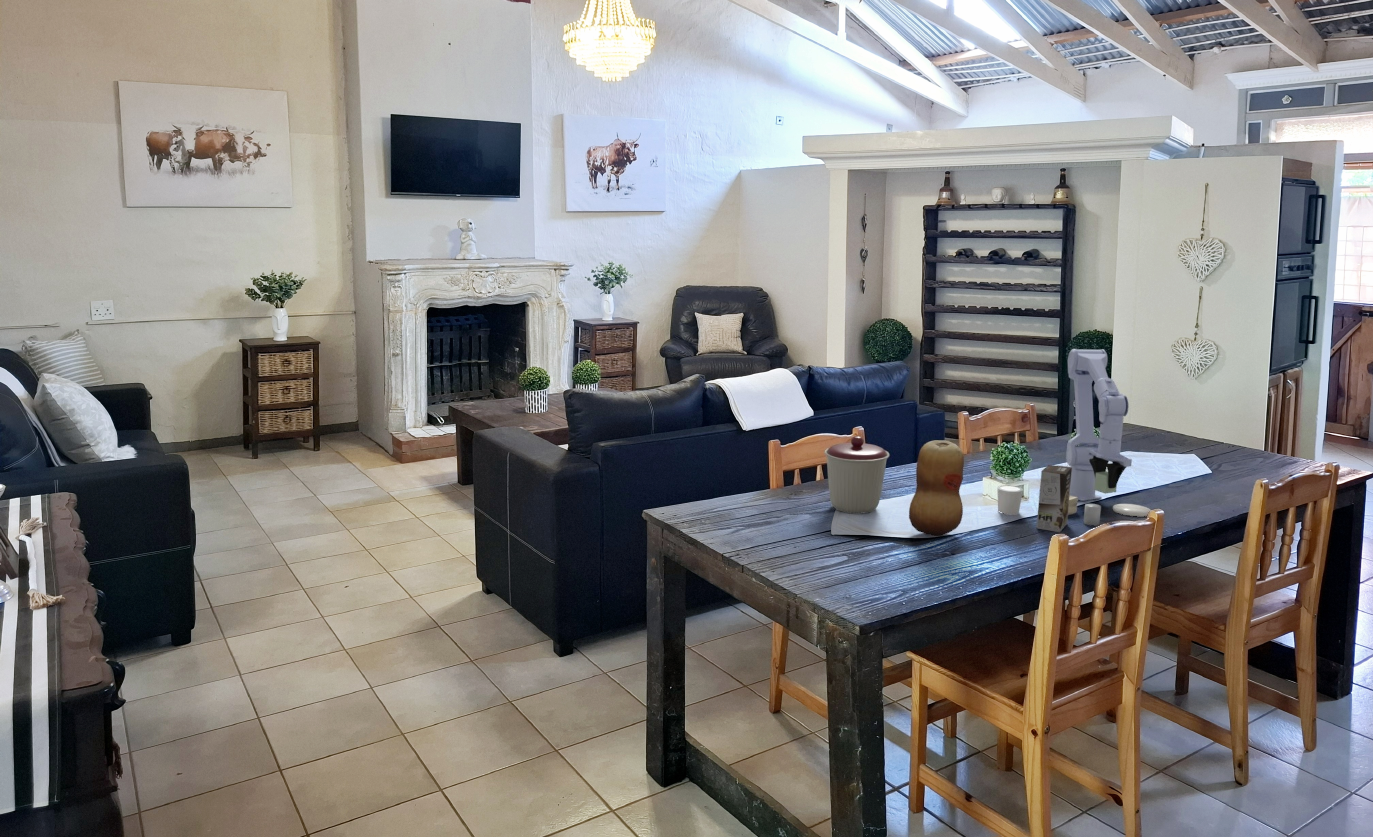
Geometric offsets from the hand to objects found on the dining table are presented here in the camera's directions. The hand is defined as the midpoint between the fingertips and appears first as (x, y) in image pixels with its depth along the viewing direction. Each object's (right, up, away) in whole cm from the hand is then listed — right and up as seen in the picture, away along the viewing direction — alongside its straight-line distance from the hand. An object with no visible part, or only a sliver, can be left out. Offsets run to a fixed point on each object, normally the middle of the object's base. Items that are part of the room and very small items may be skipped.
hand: (1105, 485), depth 284 cm
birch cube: (-10, -8, +4) cm, 13 cm away
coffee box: (-18, -11, -9) cm, 23 cm away
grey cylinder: (-6, -10, -6) cm, 13 cm away
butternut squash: (-52, -12, -17) cm, 56 cm away
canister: (-69, -7, +5) cm, 70 cm away
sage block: (0, -2, 0) cm, 2 cm away
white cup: (-26, -8, +4) cm, 27 cm away
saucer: (+9, -8, +5) cm, 13 cm away
